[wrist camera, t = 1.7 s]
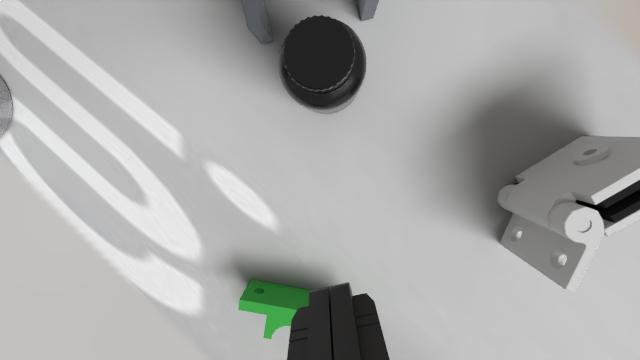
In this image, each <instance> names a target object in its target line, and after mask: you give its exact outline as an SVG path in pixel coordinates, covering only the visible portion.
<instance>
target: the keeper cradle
mask: <svg viewBox="0 0 640 360" xmlns="http://www.w3.org/2000/svg"><path fill="white" fill-rule="evenodd" d="M357 1H358V6H359V12H360V18H361V21H363V20H368V19H372V18H373V17H374V14H375V11H376V8H377V5H378V2H379V0H357ZM242 3H243V7H244V12H245V16H246V21H247V25H248V29H249V30H250V31H251V32H252V33H253V35H254V36H255V37H256V38H257V39H258V40H259V42H260V43H261V44H264V43H269V42H273V38H272V34H271V29H270V24H269V20H268V15H267V10H266V6H265V1H264V0H242Z"/></svg>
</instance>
